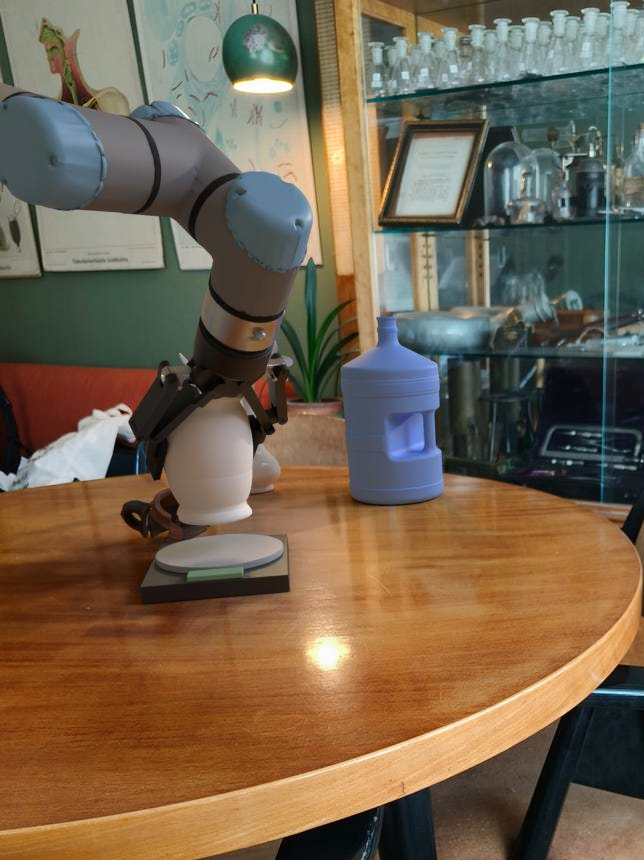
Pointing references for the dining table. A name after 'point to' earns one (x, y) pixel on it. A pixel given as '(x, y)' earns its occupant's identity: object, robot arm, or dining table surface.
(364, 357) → the water jug
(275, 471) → the flower vase
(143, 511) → the pottery mug
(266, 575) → the scale
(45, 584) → the dining table surface
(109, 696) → the dining table surface
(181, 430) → the jar
